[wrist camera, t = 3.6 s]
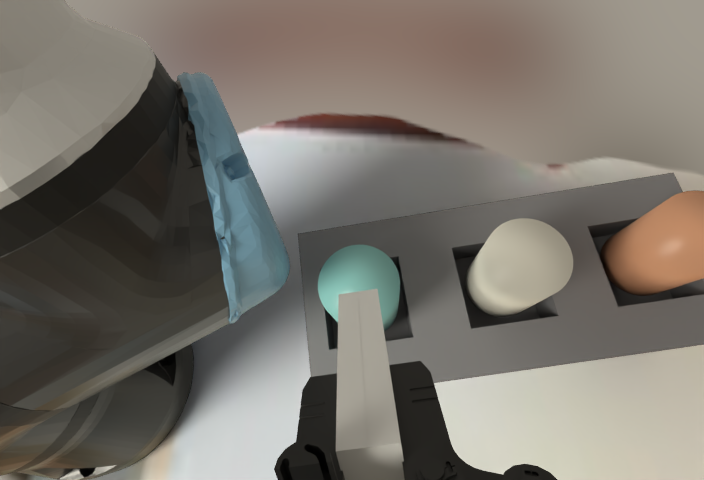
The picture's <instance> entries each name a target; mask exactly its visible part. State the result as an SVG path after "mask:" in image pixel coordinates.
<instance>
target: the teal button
mask: <svg viewBox="0 0 704 480" xmlns="http://www.w3.org/2000/svg"><path fill="white" fill-rule="evenodd" d="M372 289H378V296H379V302H380V309H381V315H382V321H383V328H384V332H385V331H386V330H387V329H388V328H390V326H391V325H392V324H393V322H394V321H395V319H396V316H397V313H398V306H399V293H400V278H399V273H398V270H397V268H396V266H395V264H394V262H393V261H392V260H391V259H390V258H389V256H388V255H386V254H385V253H384V252H383V251H381V250H379V249H377V248H375V247H372V246H368V245H351V246H347V247H344V248H342V249H340V250H338V251H337V252H335V253H334V254H333V255H331V256H330V257H329V258H328V260H327V261H326V262H325V264H324V265H323V267H322V269H321V271H320V274H319V279H318V293H319V297H320V300H321V302H322V304H323V306H324V308H325V309H326V310H327V311H328V313H329V314H330V315H331V316H332V317H333V318H334V319H335V320H336V321H337V322H338V301H339V294H345V293H352V292H358V291H365V290H372Z"/></svg>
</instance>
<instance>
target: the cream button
mask: <svg viewBox="0 0 704 480" xmlns="http://www.w3.org/2000/svg"><path fill="white" fill-rule="evenodd" d="M572 271H573V255H572V252H571V249H570V247H569V245H568V243H567V241H566V240H565V238H564V237H563V236H562V235H561V234H560V233H559V232H558V231H557V230H556V229H555V228H553V227H552V226H550V225H548V224H546V223H544V222H542V221H539V220H535V219H529V218H519V219H513V220H510V221H507V222H505V223H503V224H501V225H500V226H498V227H497V228H496V229H495V230H494V231H493V232H492V233H491V235H490V236H489V238H488V239H487V241H486V242H485V244H484V245H483V247H482V248H481V250H480V251H479V253H478V254H477V256H476V257H475V259H474V260H473V262H472V263H471V265H470V266H469V268H468V270H467V272H466V276H465V286H466V291H467V294H468V296H469V298H470V299H471V301H472V302H473V303H474V305H475V306H476V307H478V308H479V309H480V310H481V311H483V312H485V313H487V314H489V315H492V316H496V317H509V316H513V315H516V314H518V313H520V312H522V311H523V310H525V309H527V308H529V307H531V306H533V305H535V304H536V303H538V302H540V301H542V300H544V299H546V298H548V297H550V296H551V295H553V294H555V293H557V292H558V291H560V290H561V289H562V288H563V287H564V286H565V285H566V284H567V282H568V281H569V279H570V277H571V274H572Z"/></svg>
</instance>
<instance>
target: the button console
mask: <svg viewBox="0 0 704 480" xmlns="http://www.w3.org/2000/svg"><path fill="white" fill-rule="evenodd" d="M681 192H683V191H682V189H681V187H680V185H679V183H678V181H677V179H676V177H675V175H674V173H669V174H662V175H656V176H650V177H644V178H638V179H632V180H626V181H619V182H613V183H607V184H601V185H595V186H589V187H583V188H576V189H570V190H564V191H558V192H552V193H546V194H540V195H533V196H527V197H521V198H515V199H509V200H503V201H497V202H490V203H484V204H478V205H472V206H466V207H460V208H454V209H448V210H441V211H435V212H429V213H423V214H417V215H411V216H405V217H398V218H392V219H386V220H380V221H374V222H368V223H362V224H355V225H349V226H343V227H337V228H331V229H325V230H319V231H312V232H306V233H300V234H298V240H299V251H300V262H301V273H302V284H303V295H304V306H305V317H306V328H307V339H308V350H309V361H310V372H311V377H314V376H321V375H328V374H335V373H337V354H338V322H337V321H336V320H335V319H334V318H333V317H332V316H331V315H330V314H329V313H328V311H327V310H326V309H325V308H324V306H323V304H322V302H321V300H320V297H319V293H318V279H319V274H320V271H321V269H322V267H323V265H324V264H325V262H326V261H327V260H328V258H329V257H330V256H331V255H333V254H334V253H335V252H337V251H338V250H340V249H342V248H344V247H347V246H351V245H368V246H372V247H375V248H377V249H379V250H381V251H383V252H384V253H385V254H386V255H388V256H389V258H390V259H391V260H392V261H393V262H394V264H395V266H396V268H397V270H398V273H399V278H400V293H399V306H398V313H397V316H396V319H395V321H394V322H393V324H392V325H391V326H390V328H388V329H387V330H386V331H385V332H384V334H385V341H386V347H387V354H388V360H389V365H393V364H400V363H407V362H414V361H421V362H422V363H423V364H424V365H425V366H426V367H427V368H428V370H429V371H430V372H431V375H432V379H433V382H434V383H437V382H444V381H451V380H458V379H465V378H472V377H479V376H486V375H493V374H500V373H507V372H514V371H521V370H528V369H535V368H542V367H549V366H556V365H563V364H570V363H577V362H584V361H591V360H598V359H605V358H612V357H619V356H626V355H633V354H640V353H647V352H654V351H661V350H668V349H675V348H683V347H690V346H697V345H704V278H703V279H700V280H697V281H694V282H691V283H688V284H685V285H682V286H679V287H676V288H672V289H669V290H666V291H663V292H660V293H657V294H654V295H650V296H639V295H634V294H630V293H628V292H625V291H623V290H621V289H620V288H618V287H617V286H616V285H614V284H613V283H612V282H611V281H610V280H609V279H608V277H607V276H606V273H605V271H604V268H603V266H602V263H601V260H600V254H601V249H602V247H603V245H604V243H605V242H606V241H607V240H608V239H609V238H610V237H611V236H613V235H614V234H616V233H618V232H619V231H621V230H622V229H624V228H625V227H627V226H628V225H630V224H631V223H633V222H634V221H636V220H637V219H639V218H640V217H642V216H643V215H645V214H646V213H648V212H649V211H651V210H652V209H654V208H655V207H657V206H658V205H660V204H661V203H663V202H665V201H666V200H668V199H669V198H671V197H672V196H674V195H676V194H679V193H681ZM519 218H529V219H535V220H539V221H542V222H544V223H546V224H548V225H550V226H552V227H553V228H555V229H556V230H557V231H558V232H559V233H560V234H561V235H562V236H563V237H564V238H565V240H566V241H567V243H568V245H569V247H570V249H571V252H572V255H573V271H572V274H571V277H570V279H569V281H568V282H567V284H566V285H565V286H564V287H563V288H562V289H561V290H560V291H558V292H557V293H555V294H553V295H551V296H550V297H548V298H546V299H544V300H542V301H540V302H538V303H536V304H535V305H533V306H531V307H529V308H527V309H525V310H523V311H522V312H520V313H518V314H516V315H513V316H509V317H496V316H492V315H489V314H487V313H485V312H483V311H481V310H480V309H479V308H478V307H476V306H475V305H474V303H473V302H472V301H471V299H470V298H469V296H468V294H467V291H466V286H465V276H466V272H467V270H468V268H469V266H470V265H471V263H472V262H473V260H474V259H475V257H476V256H477V254H478V253H479V251H480V250H481V248H482V247H483V245H484V244H485V242H486V241H487V239H488V238H489V236H490V235H491V233H492V232H493V231H494V230H495V229H496V228H497V227H498V226H500V225H501V224H503V223H505V222H507V221H510V220H513V219H519Z"/></svg>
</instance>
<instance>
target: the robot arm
mask: <svg viewBox="0 0 704 480" xmlns="http://www.w3.org/2000/svg"><path fill="white" fill-rule="evenodd" d="M177 78H178V80H177V81H176V82H175V81H174V80H172V79H171V77H170V76H169V75H168V73H167V72H166V70H165V69H164V67H163V66H162V64H161V63H160V61H159V60H158V58H157V57H156V55H155V54H154V52H153V51H152V49H151V48H150V47H149V45H148V44H147V43H146V42H145V41H144V40H143V39H142V38H140V37H139V36H136V35H134V34H130V33H128V32H125V31H122V30H119V29H116V28H113V27H110V26H107V25H104V24H101V23H98V22H95V21H92V20H89V19H86V18H84V17H82V16H81V15H80V14H79V13H77V12H76V11H75V10H74V9H73V8H72V7H70V6H69V5H68V4H67V3H66V1H65V0H0V476H1V475H5V474H9V473H13V472H19V473H25V474H31V475H36V476H42V477H47V478H53V479H59V480H87V479H92V478H97V477H100V476H103V475H106V474H109V473H112V472H116V471H119V470H121V469H124V468H126V467H128V466H130V465H132V464H134V463H136V462H137V461H139V460H141V459H142V458H143V457H145V456H146V455H148V454H149V453H150V452H151V451H152V450H153V449H155V448H156V447H157V446H158V445H159V444H160V443H161V442H162V441H163V439H164V438H165V437H166V436H167V435H168V433H169V432H170V431H171V429H172V428H173V426H174V425H175V423H176V422H177V420H178V418H179V416H180V414H181V412H182V410H183V408H184V406H185V403H186V401H187V398H188V395H189V391H190V388H191V383H192V376H193V351H192V345H191V343H193V342H195V341H197V340H199V339H201V338H203V337H205V336H207V335H208V334H210V333H212V332H214V331H216V330H218V329H220V328H222V327H224V326H226V325H227V324H232V323H234V322H236V321H237V320H238V319H239V317H240V315H241V314H243V313H245V312H246V311H248V310H249V309H251V308H253V307H254V306H256V305H257V304H259V303H261V302H262V301H264V300H265V299H267V298H268V297H270V296H272V295H273V294H275V293H276V292H277V291H278V290H279V289H280V288H281V287H282V286H283V285H284V283H285V282H286V280H287V277H288V274H289V269H290V264H289V257H288V254H287V251H286V248H285V246H284V243H283V241H282V238H281V236H280V234H279V231H278V229H277V226H276V224H275V221H274V219H273V217H272V215H271V212H270V210H269V208H268V205H267V203H266V200H265V198H264V196H263V193H262V191H261V189H260V187H259V184H258V182H257V180H256V178H255V175H254V173H253V171H252V169H251V167H250V165H249V163H248V159H247V157H246V155H245V153H244V150H243V148H242V146H241V144H240V141H239V138H238V136H237V133H236V131H235V129H234V126H233V124H232V122H231V119H230V117H229V115H228V113H227V111H226V108H225V106H224V104H223V102H222V99H221V97H220V95H219V93H218V91H217V89H216V86H215V85H214V83H213V80H212V79H211V78H210V77H209V76H208V75H206V74H204V73H201V72H200V73H195V74H188V73H183V74H181V75H179V76H178V77H177ZM299 417H300V420H299V424H298V432H297V440H296V443H294V444H292V445H291V446H289V447H288V448H287V449H285V450H284V452H283V453H282V454H281V455H280V457H279V458H278V460H277V463H276V466H275V468H274V470H275V473H276V475H277V478H278V480H557V479H556V478H555V477H554V476H553V475H552V474H551V473H550V472H548V471H546V470H544V469H542V468H540V467H538V466H533V465H528V464H521V465H515V466H513V467H511V468H510V469H508V470H507V471H505V473H504V475H502V474H497V473H492V472H487V471H482V470H479V469H476V468H473V467H472V466H470V465H468V464H466V463H465V462H464V461H463V460H462V459H460V458H459V457H458V455H457V454H456V453H455V451H454V450H453V447H452V445H451V442H450V439H449V435H448V432H447V428H446V425H445V421H444V418H443V414H442V411H441V407H440V404H439V400H438V397H437V393H436V390H435V386H434V382H433V379H432V375H431V372H430V371H429V370H428V368H427V367H426V366H425V365H424V364H423V363H422V362H421V361H414V362H407V363H400V364H393V365H389V360H388V354H387V347H386V341H385V334H384V328H383V321H382V315H381V309H380V302H379V296H378V289H372V290H365V291H358V292H352V293H345V294H339V301H338V354H337V373H335V374H328V375H321V376H314V377H310V379H309V381H308V382H307V384H306V386H305V387H304V389H303V392H302V400H301V408H300V416H299Z"/></svg>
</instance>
